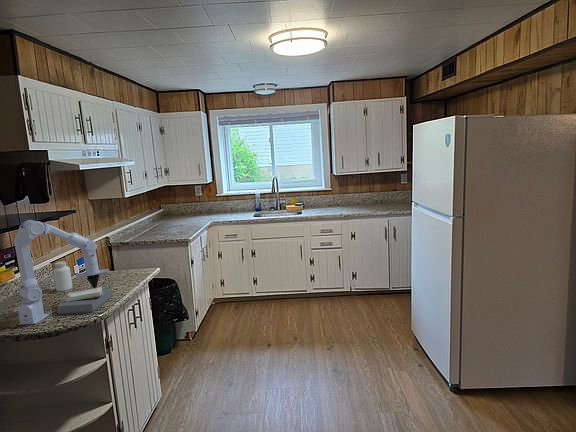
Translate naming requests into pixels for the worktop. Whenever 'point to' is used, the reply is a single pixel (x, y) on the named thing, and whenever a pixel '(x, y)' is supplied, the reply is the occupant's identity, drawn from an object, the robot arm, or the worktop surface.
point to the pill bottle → (62, 276)
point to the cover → (84, 294)
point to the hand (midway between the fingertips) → (95, 290)
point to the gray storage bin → (85, 304)
